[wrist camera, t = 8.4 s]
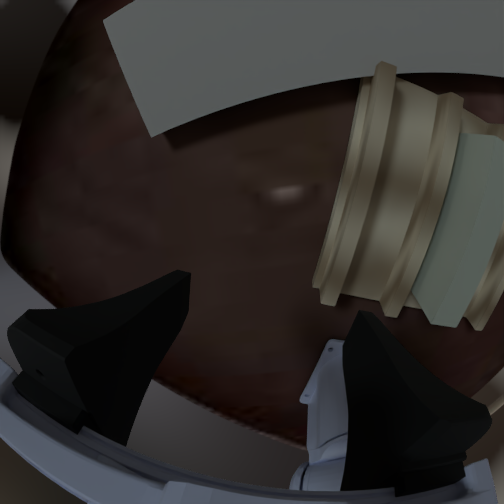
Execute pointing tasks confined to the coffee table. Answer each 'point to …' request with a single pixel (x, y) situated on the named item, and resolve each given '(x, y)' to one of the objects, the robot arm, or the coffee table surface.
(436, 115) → the ribbed tan slab
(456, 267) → the clay strip
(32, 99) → the coffee table surface
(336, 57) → the grey rectangular block
